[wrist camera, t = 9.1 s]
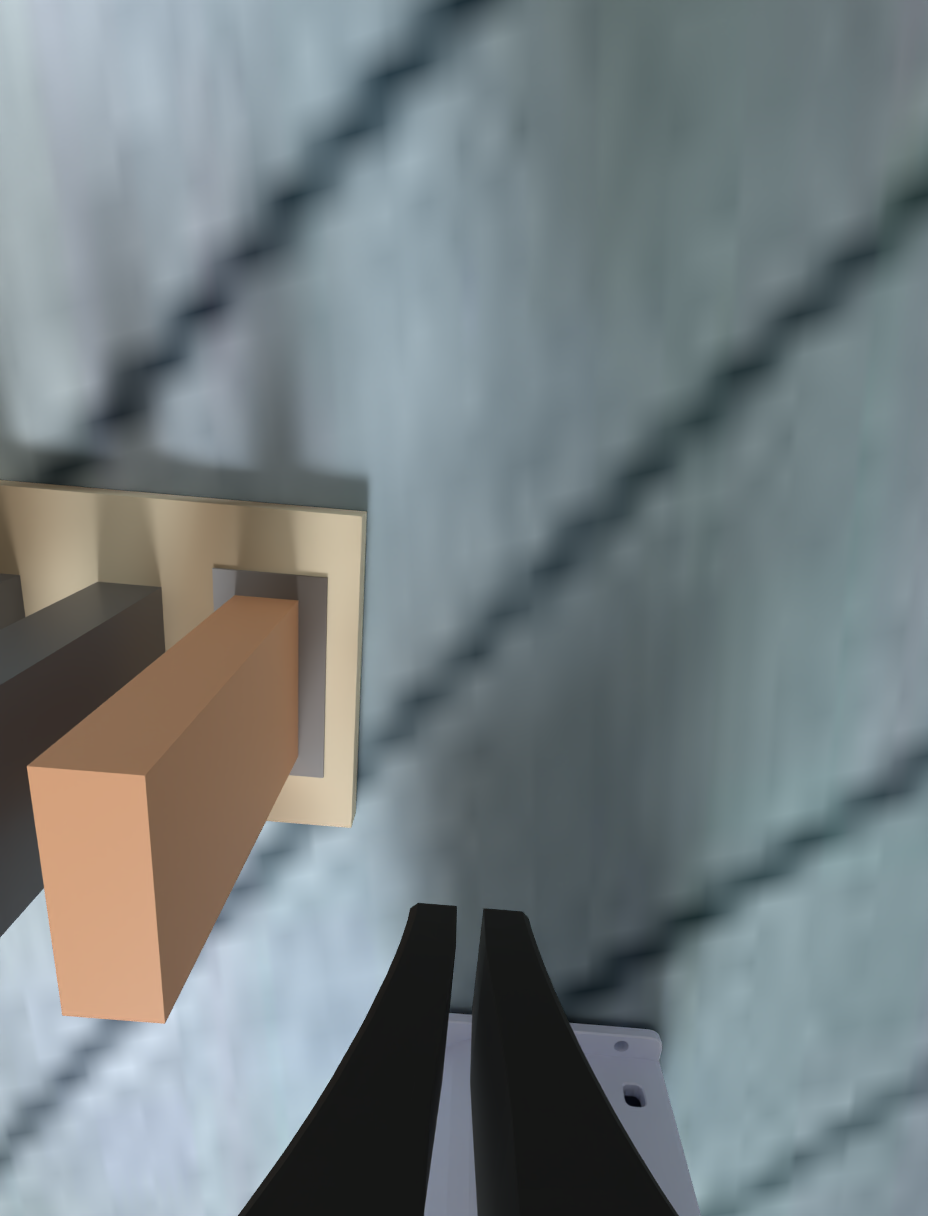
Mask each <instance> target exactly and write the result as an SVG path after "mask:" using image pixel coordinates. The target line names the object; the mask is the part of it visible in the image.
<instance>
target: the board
mask: <svg viewBox="0 0 928 1216" xmlns="http://www.w3.org/2000/svg"><path fill="white" fill-rule="evenodd" d="M366 522H367V511H356V510H344V509H333V508H321V507H309V506H298V505H286V504H275V503H263V502H251V501H240V500H228V499H216V498H205V497H193V496H181V495H170V494H158V493H146V492H135V491H123V490H111V489H100V488H88V487H77V486H65V485H53V484H42V483H30V482H18V481H7V480H0V573H2V574H14V575H20V579H21V587H22V594H23V602H24V610H25V617H27V616H29V615H31V614H33V613H35V612H37V611H39V610H41V609H43V608H45V607H47V606H49V605H51V604H53V603H55V602H57V601H59V600H62V599H64V598H66V597H68V596H70V595H72V594H74V593H76V592H78V591H80V590H82V589H84V588H86V587H88V586H90V585H92V584H94V583H96V582H108V583H120V584H132V585H143V586H155V587H162V603H163V620H164V636H165V652H166V651H167V650H169V649H170V648H171V647H172V646H173V645H175V644H176V643H177V642H178V641H180V640H181V639H182V638H183V637H184V636H186V635H187V634H188V633H189V632H190V631H192V630H193V629H194V628H195V627H197V626H198V625H199V624H200V623H201V622H203V621H204V620H205V619H206V618H207V617H209V616H210V615H211V614H212V613H214V612H215V611H216V610H217V609H218V608H220V607H221V606H222V605H223V604H225V603H226V602H227V601H228V600H229V599H231V598H232V597H233V596H234V595H238V596H251V597H263V598H275V599H288V600H298V758H297V760H296V762H295V764H294V766H293V768H292V770H291V772H290V774H289V776H288V778H287V780H286V782H285V784H284V786H283V788H282V790H281V792H280V794H279V796H278V798H277V800H276V802H275V804H274V806H273V808H272V810H271V812H270V814H269V816H268V818H267V820H266V821H275V822H287V823H299V824H311V825H323V826H335V827H347V828H351V827H352V823H353V820H354V817H355V813H356V789H357V763H358V736H359V709H360V682H361V656H362V629H363V602H364V575H365V549H366Z"/></svg>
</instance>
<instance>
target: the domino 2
mask: <svg viewBox="0 0 928 1216" xmlns="http://www.w3.org/2000/svg"><path fill="white" fill-rule="evenodd" d="M297 758H298V600H288V599H275V598H263V597H251V596H238V595H234V596H233V597H232V598H231V599H229V600H228V601H227V602H226V603H225V604H223V605H222V606H221V607H220V608H218V609H217V610H216V611H215V612H214V613H212V614H211V615H210V616H209V617H207V618H206V619H205V620H204V621H203V622H201V623H200V624H199V625H198V626H197V627H195V628H194V629H193V630H192V631H190V632H189V633H188V634H187V635H186V636H184V637H183V638H182V639H181V640H180V641H178V642H177V643H176V644H175V645H173V646H172V647H171V648H170V649H169V650H167V651H166V652H165V653H164V654H162V655H161V656H160V657H159V658H158V659H156V660H155V661H154V662H153V663H152V664H150V665H149V666H148V667H147V668H145V669H144V670H143V671H142V672H141V673H139V674H138V675H137V676H136V677H135V678H133V679H132V680H131V681H130V682H128V683H127V684H126V685H125V686H124V687H122V688H121V689H120V690H119V691H118V692H116V693H115V694H114V695H113V696H111V697H110V698H109V699H108V700H107V701H105V702H104V703H103V704H102V705H100V706H99V707H98V708H97V709H96V710H94V711H93V712H92V713H91V714H90V715H88V716H87V717H86V718H85V719H83V720H82V721H81V722H80V723H79V724H77V725H76V726H75V727H74V728H73V729H71V730H70V731H69V732H68V733H66V734H65V735H64V736H63V737H62V738H60V739H59V740H58V741H57V742H55V743H54V744H53V745H52V746H51V747H49V748H48V749H47V750H46V751H45V752H43V753H42V754H41V755H40V756H38V757H37V758H36V759H35V760H34V761H32V762H31V763H30V764H29V765H28V766H27V771H28V778H29V785H30V792H31V799H32V806H33V813H34V820H35V827H36V834H37V841H38V848H39V855H40V862H41V869H42V876H43V883H44V890H45V897H46V904H47V911H48V918H49V925H50V932H51V939H52V946H53V953H54V960H55V967H56V974H57V981H58V988H59V995H60V1002H61V1009H62V1016H75V1017H88V1018H100V1019H113V1020H126V1021H138V1022H151V1023H164V1024H165V1022H166V1020H167V1018H168V1016H169V1014H170V1012H171V1010H172V1008H173V1006H174V1004H175V1002H176V1000H177V998H178V996H179V994H180V992H181V990H182V988H183V986H184V984H185V982H186V980H187V978H188V976H189V974H190V972H191V970H192V968H193V966H194V964H195V962H196V960H197V958H198V956H199V954H200V952H201V950H202V948H203V946H204V944H205V942H206V940H207V938H208V936H209V934H210V932H211V930H212V928H213V926H214V924H215V922H216V920H217V918H218V916H219V914H220V912H221V910H222V908H223V906H224V904H225V902H226V900H227V898H228V896H229V894H230V892H231V890H232V888H233V886H234V884H235V882H236V880H237V878H238V876H239V874H240V872H241V870H242V868H243V866H244V864H245V862H246V860H247V858H248V856H249V854H250V852H251V850H252V848H253V846H254V844H255V842H256V840H257V838H258V836H259V834H260V832H261V830H262V828H263V826H264V824H265V822H266V820H267V818H268V816H269V814H270V812H271V810H272V808H273V806H274V804H275V802H276V800H277V798H278V796H279V794H280V792H281V790H282V788H283V786H284V784H285V782H286V780H287V778H288V776H289V774H290V772H291V770H292V768H293V766H294V764H295V762H296V760H297Z"/></svg>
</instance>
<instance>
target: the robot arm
mask: <svg viewBox="0 0 928 1216" xmlns="http://www.w3.org/2000/svg"><path fill="white" fill-rule="evenodd" d="M456 922H457V906H449V905H437V904H424V903H417V904H416V905H415V906H413V907H412V908H410V912H409V917H408V921H407V924H406V927H405V930H404V933H403V936H402V939H401V942H400V944H399V947H398V949H397V952H396V954H395V957H394V959H393V961H392V964H391V966H390V968H389V971H388V973H387V975H386V977H385V979H384V981H383V983H382V985H381V987H380V990H379V992H378V994H377V996H376V998H375V1000H374V1002H373V1004H372V1006H371V1008H370V1010H369V1012H368V1014H367V1016H366V1018H365V1020H364V1022H363V1024H362V1025H361V1027H360V1029H359V1031H358V1033H357V1035H356V1036H355V1038H354V1040H353V1042H352V1043H351V1045H350V1047H349V1049H348V1050H347V1052H346V1054H345V1056H344V1057H343V1059H342V1061H341V1063H340V1064H339V1066H338V1068H337V1070H336V1071H335V1073H334V1075H333V1077H332V1078H331V1080H330V1082H329V1083H328V1085H327V1086H326V1088H325V1090H324V1091H323V1093H322V1095H321V1096H320V1098H319V1099H318V1101H317V1103H316V1104H315V1106H314V1107H313V1109H312V1110H311V1112H310V1114H309V1115H308V1117H307V1118H306V1120H305V1121H304V1123H303V1124H302V1126H301V1127H300V1129H299V1130H298V1132H297V1133H296V1135H295V1136H294V1138H293V1139H292V1141H291V1142H290V1144H289V1145H288V1147H287V1148H286V1150H285V1151H284V1153H283V1154H282V1155H281V1157H280V1158H279V1160H278V1161H277V1162H276V1164H275V1165H274V1167H273V1168H272V1169H271V1171H270V1172H269V1174H268V1175H267V1176H266V1178H265V1179H264V1181H263V1182H262V1183H261V1185H260V1186H259V1187H258V1189H257V1190H256V1192H255V1193H254V1194H253V1196H252V1197H251V1199H250V1200H249V1201H248V1203H247V1204H246V1206H245V1207H244V1208H243V1210H242V1211H241V1212H240V1214H239V1215H238V1216H701V1214H700V1210H699V1206H698V1203H697V1199H696V1195H695V1192H694V1188H693V1184H692V1181H691V1177H690V1173H689V1169H688V1166H687V1162H686V1158H685V1155H684V1151H683V1147H682V1144H681V1140H680V1136H679V1133H678V1129H677V1125H676V1121H675V1118H674V1114H673V1110H672V1107H671V1103H670V1099H669V1096H668V1092H667V1088H666V1084H665V1081H664V1077H663V1073H662V1070H661V1066H660V1062H659V1060H660V1056H661V1051H662V1042H661V1039H660V1036H659V1034H658V1033H657V1032H655V1031H653V1030H650V1029H640V1028H628V1027H616V1026H603V1025H591V1024H579V1023H569V1021H568V1019H567V1017H566V1015H565V1013H564V1010H563V1008H562V1006H561V1004H560V1001H559V999H558V997H557V995H556V992H555V990H554V988H553V985H552V983H551V980H550V978H549V975H548V973H547V971H546V968H545V966H544V963H543V960H542V958H541V955H540V952H539V950H538V947H537V944H536V941H535V938H534V935H533V932H532V929H531V926H530V922H529V918H528V917H527V916H526V915H525V914H524V913H523V912H521V911H509V910H497V909H485V908H484V909H483V918H482V927H481V935H480V944H479V953H478V962H477V971H476V980H475V989H474V997H473V1006H472V1015H469V1014H457V1013H449V1009H450V999H451V989H452V979H453V969H454V959H455V949H456ZM618 1041H619V1042H618Z"/></svg>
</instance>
